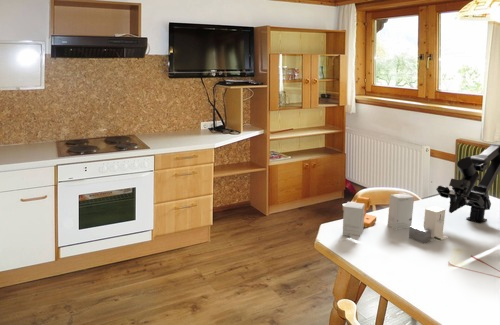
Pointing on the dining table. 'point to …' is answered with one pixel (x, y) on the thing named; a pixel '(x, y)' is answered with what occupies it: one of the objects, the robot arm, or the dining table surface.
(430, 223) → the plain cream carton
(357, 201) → the bracket
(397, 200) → the skincare box
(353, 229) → the supplement box
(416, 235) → the dark gray block
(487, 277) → the dining table surface
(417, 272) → the dining table surface
